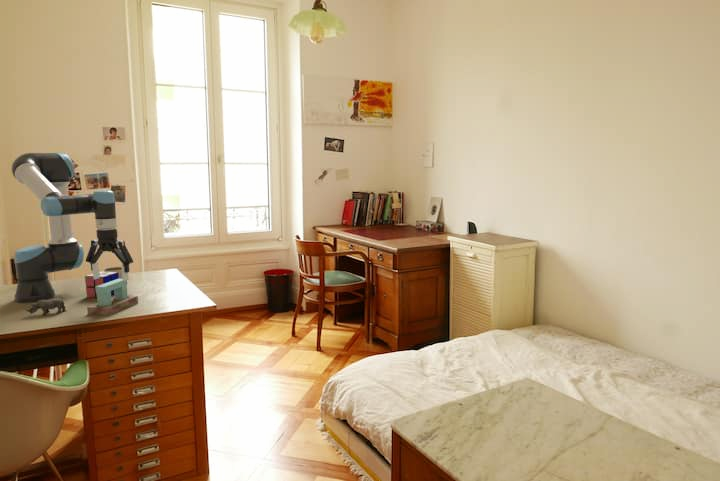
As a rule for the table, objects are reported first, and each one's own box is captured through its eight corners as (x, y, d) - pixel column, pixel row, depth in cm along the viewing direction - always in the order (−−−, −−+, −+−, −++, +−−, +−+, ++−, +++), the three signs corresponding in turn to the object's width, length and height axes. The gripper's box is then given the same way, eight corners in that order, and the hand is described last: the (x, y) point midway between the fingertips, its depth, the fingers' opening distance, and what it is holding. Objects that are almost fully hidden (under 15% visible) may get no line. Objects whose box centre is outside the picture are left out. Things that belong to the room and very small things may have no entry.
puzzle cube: (105, 298, 218) (103, 276, 216) (86, 297, 220) (84, 276, 218) (120, 292, 228) (118, 272, 226) (102, 291, 229) (100, 271, 228)
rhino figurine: (27, 314, 195) (25, 300, 194) (66, 310, 201) (65, 296, 200) (25, 317, 192) (23, 302, 191) (65, 312, 197) (63, 298, 196)
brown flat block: (87, 314, 195) (87, 307, 194) (117, 301, 212) (117, 295, 212) (109, 315, 193) (109, 308, 193) (138, 302, 210) (137, 296, 210)
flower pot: (130, 285, 242) (128, 268, 240) (111, 289, 234) (110, 271, 232) (119, 282, 247) (117, 266, 245) (101, 286, 239) (99, 269, 237)
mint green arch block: (97, 313, 196) (95, 286, 194) (120, 303, 210) (118, 278, 208) (106, 313, 196) (104, 287, 194) (129, 303, 209) (126, 278, 207)
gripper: (72, 229, 196) (77, 280, 200) (128, 231, 191) (132, 283, 195) (86, 226, 203) (91, 275, 207) (140, 228, 199) (143, 278, 202)
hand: (111, 279), depth 201 cm, fingers open, 13 cm apart
